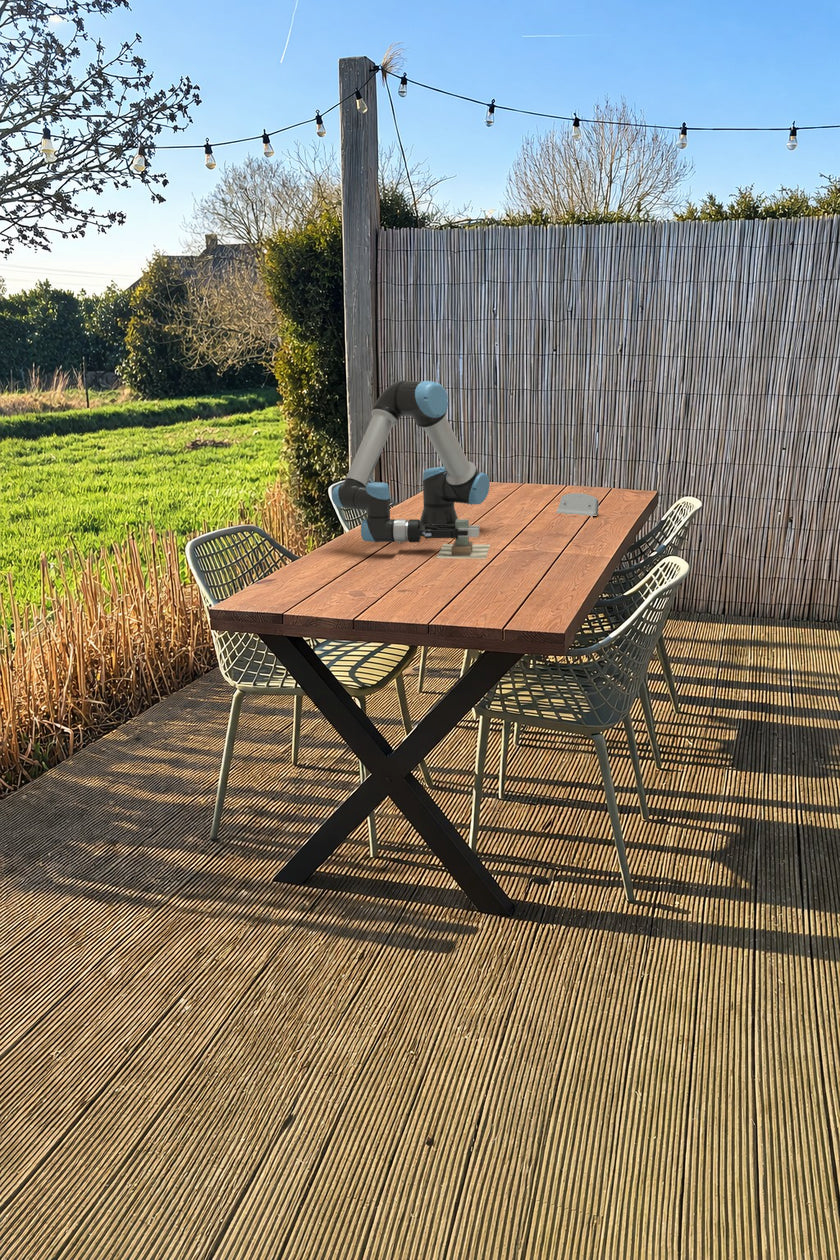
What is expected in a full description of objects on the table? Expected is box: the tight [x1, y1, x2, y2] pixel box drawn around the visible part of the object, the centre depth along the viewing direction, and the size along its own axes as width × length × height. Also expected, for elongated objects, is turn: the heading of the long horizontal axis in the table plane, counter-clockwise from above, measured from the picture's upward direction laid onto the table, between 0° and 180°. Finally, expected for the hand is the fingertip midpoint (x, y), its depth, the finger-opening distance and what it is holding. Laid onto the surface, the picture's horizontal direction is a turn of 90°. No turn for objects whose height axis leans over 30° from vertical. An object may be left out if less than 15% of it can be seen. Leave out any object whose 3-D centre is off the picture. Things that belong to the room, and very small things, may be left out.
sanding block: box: [452, 518, 473, 556], centre depth 321 cm, size 10×6×11 cm, turn 172°
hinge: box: [555, 492, 600, 517], centre depth 392 cm, size 17×5×10 cm, turn 58°
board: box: [435, 543, 491, 560], centre depth 324 cm, size 22×16×2 cm
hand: (478, 531), depth 320 cm, fingers closed on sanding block, 4 cm apart
